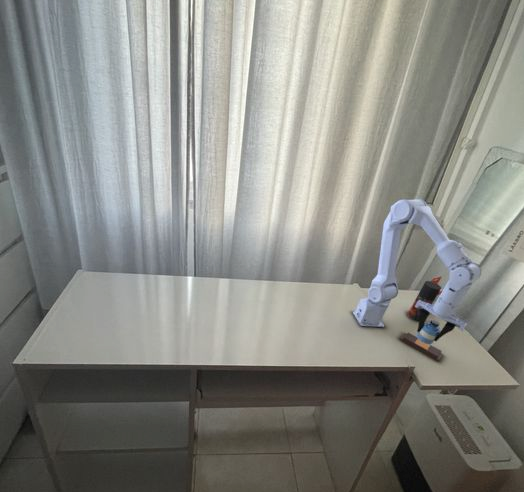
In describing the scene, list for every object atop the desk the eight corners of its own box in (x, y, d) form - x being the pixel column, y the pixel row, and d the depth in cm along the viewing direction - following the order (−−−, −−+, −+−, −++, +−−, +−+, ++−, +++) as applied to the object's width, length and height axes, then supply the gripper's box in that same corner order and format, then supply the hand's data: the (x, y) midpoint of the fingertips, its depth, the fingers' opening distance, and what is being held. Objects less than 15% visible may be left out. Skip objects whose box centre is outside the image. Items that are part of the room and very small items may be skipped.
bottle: (422, 343, 100) (433, 327, 96) (413, 333, 104) (423, 316, 100) (436, 344, 101) (447, 327, 97) (427, 334, 105) (437, 317, 101)
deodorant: (424, 323, 124) (443, 291, 115) (408, 319, 124) (426, 286, 116) (420, 314, 129) (438, 283, 120) (406, 310, 129) (423, 279, 121)
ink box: (432, 309, 134) (450, 280, 126) (422, 313, 130) (440, 283, 122) (424, 304, 136) (441, 275, 128) (414, 308, 132) (431, 278, 124)
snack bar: (399, 339, 112) (401, 335, 111) (404, 334, 115) (406, 330, 114) (438, 361, 105) (440, 357, 104) (441, 355, 108) (444, 352, 107)
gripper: (477, 307, 93) (453, 342, 101) (428, 285, 100) (409, 319, 108) (472, 316, 88) (448, 351, 96) (422, 291, 95) (402, 326, 103)
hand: (427, 335), depth 101 cm, fingers closed on bottle, 5 cm apart
